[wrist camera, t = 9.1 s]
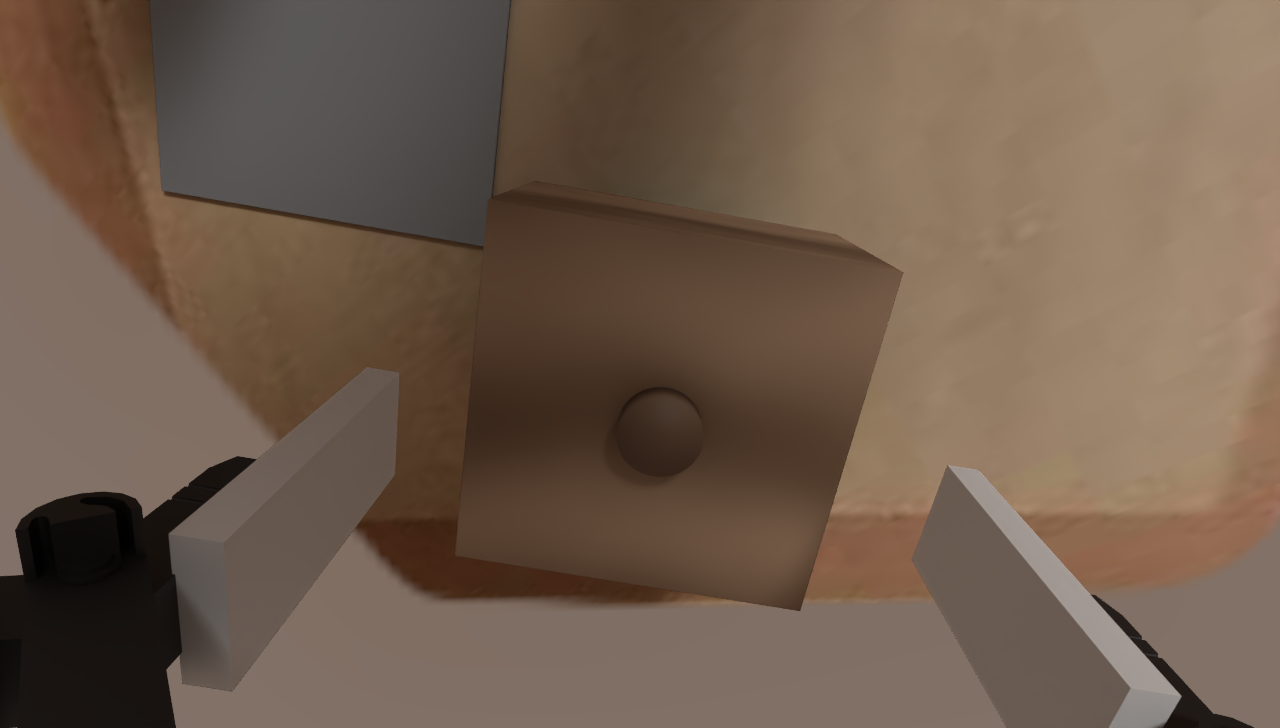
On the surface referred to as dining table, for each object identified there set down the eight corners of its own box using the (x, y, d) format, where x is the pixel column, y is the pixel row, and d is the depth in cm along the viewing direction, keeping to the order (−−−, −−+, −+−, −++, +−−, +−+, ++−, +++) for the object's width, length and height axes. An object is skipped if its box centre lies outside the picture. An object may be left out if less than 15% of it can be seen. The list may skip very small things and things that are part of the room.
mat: (139, -203, 24) (136, -205, 24) (523, -130, 25) (522, -132, 24) (164, 189, 29) (161, 190, 28) (487, 246, 29) (486, 246, 29)
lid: (535, 181, 24) (480, 201, 16) (836, 234, 24) (914, 278, 17) (504, 453, 27) (447, 571, 20) (766, 497, 28) (805, 628, 20)
